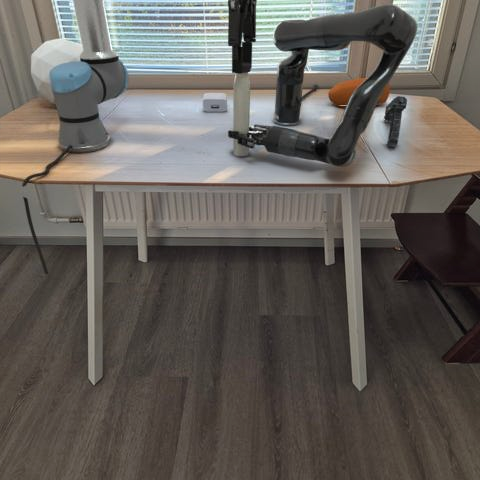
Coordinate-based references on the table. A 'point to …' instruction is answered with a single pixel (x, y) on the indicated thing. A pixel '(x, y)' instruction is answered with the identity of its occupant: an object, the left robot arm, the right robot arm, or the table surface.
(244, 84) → the bottle
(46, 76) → the decorative sphere
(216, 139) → the table surface
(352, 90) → the clog
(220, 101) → the charger
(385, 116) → the futuristic handgun
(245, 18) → the left robot arm
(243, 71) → the cap
